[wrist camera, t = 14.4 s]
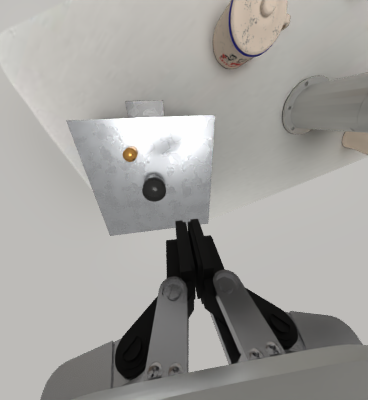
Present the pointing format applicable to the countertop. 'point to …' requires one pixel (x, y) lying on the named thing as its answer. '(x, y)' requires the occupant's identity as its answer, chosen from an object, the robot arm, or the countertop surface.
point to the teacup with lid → (248, 30)
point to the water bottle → (356, 141)
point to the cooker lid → (147, 169)
